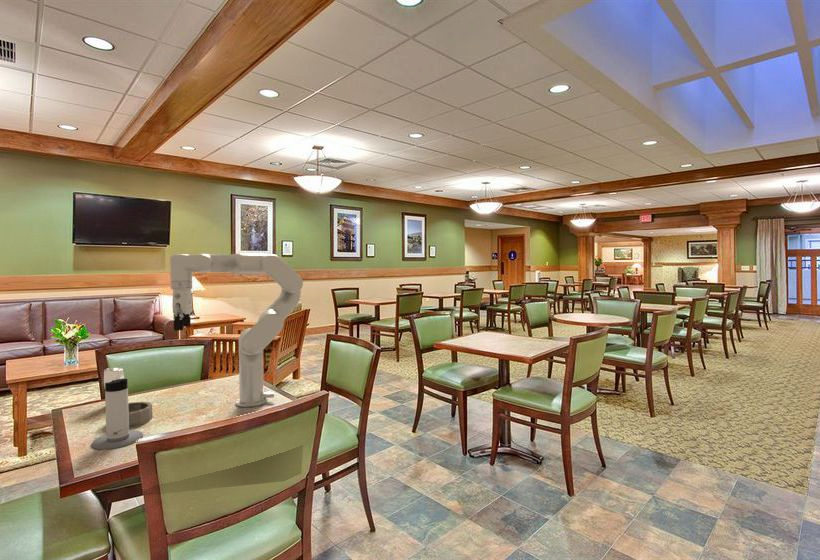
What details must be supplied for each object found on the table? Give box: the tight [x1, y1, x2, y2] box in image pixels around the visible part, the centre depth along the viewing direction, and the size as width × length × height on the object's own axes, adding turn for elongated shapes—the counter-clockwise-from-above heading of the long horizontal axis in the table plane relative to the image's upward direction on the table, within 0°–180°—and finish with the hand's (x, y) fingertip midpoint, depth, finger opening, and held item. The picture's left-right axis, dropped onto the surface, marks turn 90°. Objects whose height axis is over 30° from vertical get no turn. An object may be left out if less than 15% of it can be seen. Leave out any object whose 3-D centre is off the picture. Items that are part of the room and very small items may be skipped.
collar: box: [128, 401, 153, 428], centre depth 159 cm, size 13×13×5 cm
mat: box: [91, 429, 144, 450], centre depth 142 cm, size 14×14×1 cm
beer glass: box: [103, 366, 125, 388], centre depth 176 cm, size 7×7×15 cm
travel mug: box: [104, 378, 130, 442], centre depth 142 cm, size 6×7×20 cm
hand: (182, 328), depth 169 cm, fingers open, 9 cm apart
